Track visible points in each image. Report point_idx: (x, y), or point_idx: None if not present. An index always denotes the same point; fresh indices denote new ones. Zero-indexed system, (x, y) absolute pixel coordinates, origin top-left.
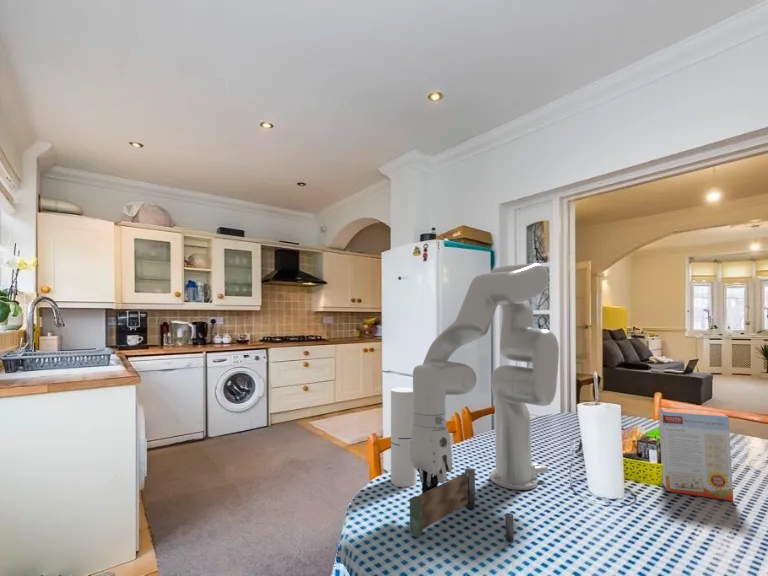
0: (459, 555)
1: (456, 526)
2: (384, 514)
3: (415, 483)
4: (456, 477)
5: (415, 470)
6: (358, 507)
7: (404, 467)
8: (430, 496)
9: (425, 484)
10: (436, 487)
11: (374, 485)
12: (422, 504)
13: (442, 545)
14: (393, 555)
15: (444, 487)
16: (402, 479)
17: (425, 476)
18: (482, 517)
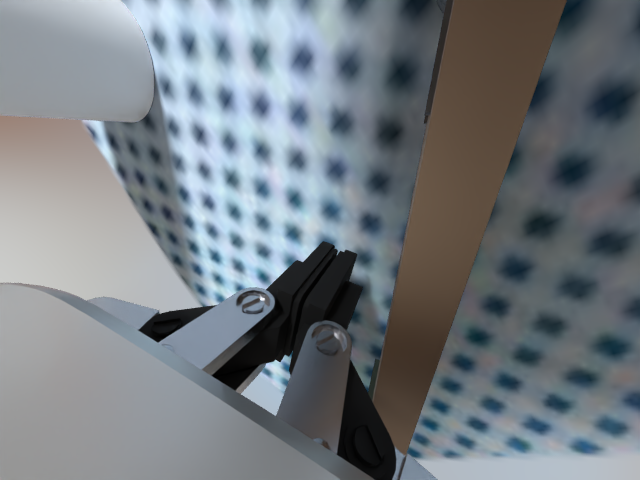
0: (574, 399)
1: (483, 241)
2: None
3: (142, 37)
4: (443, 107)
5: (67, 9)
6: (197, 294)
7: (49, 91)
8: None
9: (285, 349)
10: (381, 412)
11: (119, 174)
12: None
13: (484, 367)
14: None
15: (429, 380)
16: (118, 107)
17: (242, 362)
18: (623, 44)
